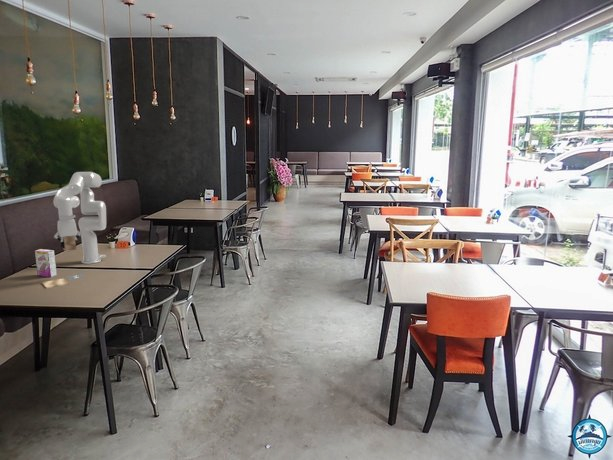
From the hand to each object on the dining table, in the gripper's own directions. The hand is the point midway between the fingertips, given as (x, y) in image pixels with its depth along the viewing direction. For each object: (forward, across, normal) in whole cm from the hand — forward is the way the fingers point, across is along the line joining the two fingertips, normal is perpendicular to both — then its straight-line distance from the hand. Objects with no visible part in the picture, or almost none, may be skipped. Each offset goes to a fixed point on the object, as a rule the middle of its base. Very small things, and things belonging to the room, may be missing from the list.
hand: (69, 246), depth 290 cm
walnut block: (+1, 0, 0) cm, 1 cm away
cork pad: (+20, +11, +6) cm, 23 cm away
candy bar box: (+20, +11, -16) cm, 28 cm away
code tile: (+20, -2, -1) cm, 20 cm away
